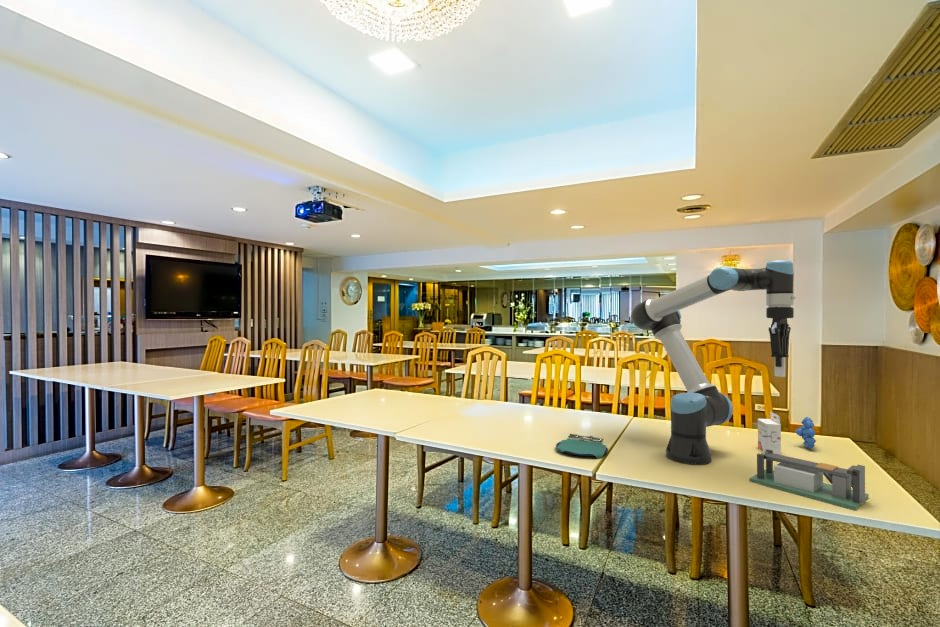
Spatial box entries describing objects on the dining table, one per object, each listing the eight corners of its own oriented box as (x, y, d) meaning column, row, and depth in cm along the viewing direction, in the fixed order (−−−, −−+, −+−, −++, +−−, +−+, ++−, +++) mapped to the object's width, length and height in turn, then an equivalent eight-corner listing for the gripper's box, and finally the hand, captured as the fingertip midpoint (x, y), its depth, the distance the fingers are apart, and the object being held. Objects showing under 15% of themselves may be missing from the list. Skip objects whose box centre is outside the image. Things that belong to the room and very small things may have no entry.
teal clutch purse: (551, 455, 166) (551, 449, 166) (565, 436, 194) (565, 431, 194) (605, 463, 158) (605, 456, 158) (612, 442, 186) (612, 436, 186)
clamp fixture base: (749, 481, 140) (749, 450, 140) (766, 471, 148) (766, 442, 148) (855, 510, 119) (855, 473, 119) (868, 497, 127) (868, 463, 127)
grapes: (792, 442, 181) (792, 413, 181) (812, 444, 178) (812, 415, 178) (797, 450, 171) (797, 419, 171) (819, 452, 168) (819, 421, 168)
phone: (832, 482, 137) (819, 467, 150) (832, 486, 137) (819, 470, 150) (864, 486, 133) (848, 470, 147) (864, 490, 133) (848, 474, 147)
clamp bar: (758, 458, 141) (758, 453, 141) (764, 455, 144) (764, 450, 144) (846, 478, 124) (846, 472, 124) (850, 474, 127) (850, 468, 127)
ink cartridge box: (756, 447, 175) (756, 410, 175) (770, 448, 174) (770, 411, 174) (766, 454, 166) (766, 415, 166) (781, 455, 165) (781, 416, 165)
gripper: (785, 306, 140) (786, 379, 140) (799, 306, 148) (799, 376, 148) (759, 306, 146) (759, 376, 146) (774, 306, 154) (774, 373, 154)
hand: (779, 376), depth 147 cm, fingers closed
